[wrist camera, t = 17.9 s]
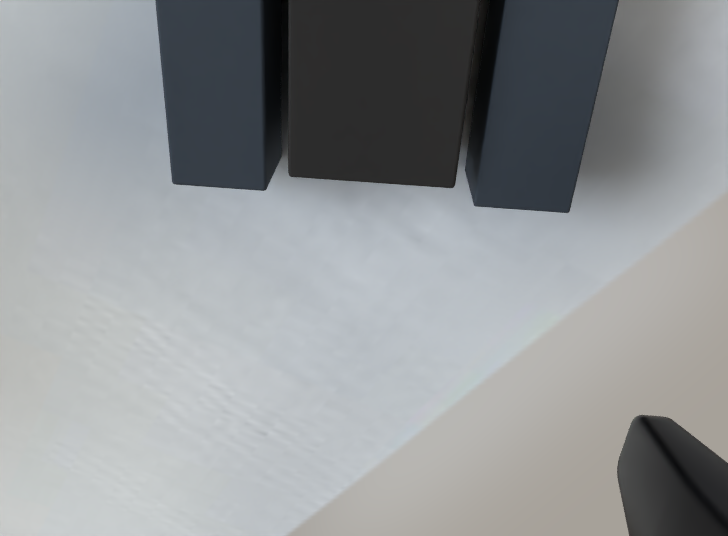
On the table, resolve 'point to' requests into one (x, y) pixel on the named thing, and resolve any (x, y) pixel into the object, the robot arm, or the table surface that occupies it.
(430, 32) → the black rectangular block
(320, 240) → the table surface
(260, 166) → the slotted block
